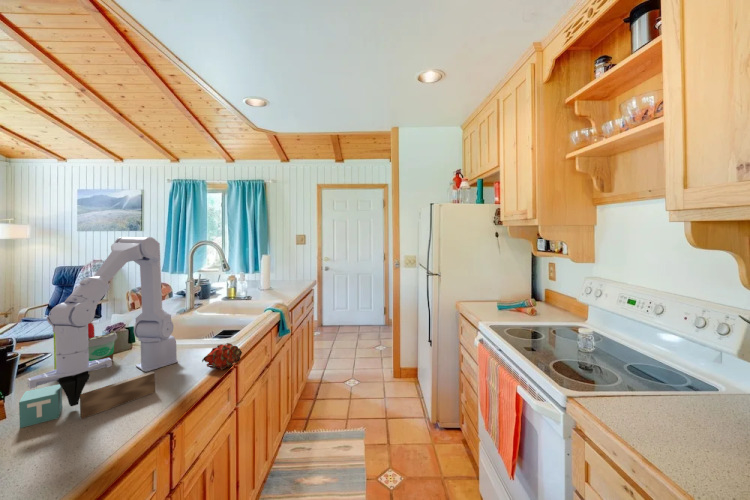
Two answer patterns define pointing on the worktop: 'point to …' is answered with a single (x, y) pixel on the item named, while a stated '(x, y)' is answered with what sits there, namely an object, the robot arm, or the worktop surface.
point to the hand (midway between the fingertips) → (73, 404)
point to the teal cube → (40, 405)
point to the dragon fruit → (223, 356)
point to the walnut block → (116, 394)
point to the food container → (102, 346)
